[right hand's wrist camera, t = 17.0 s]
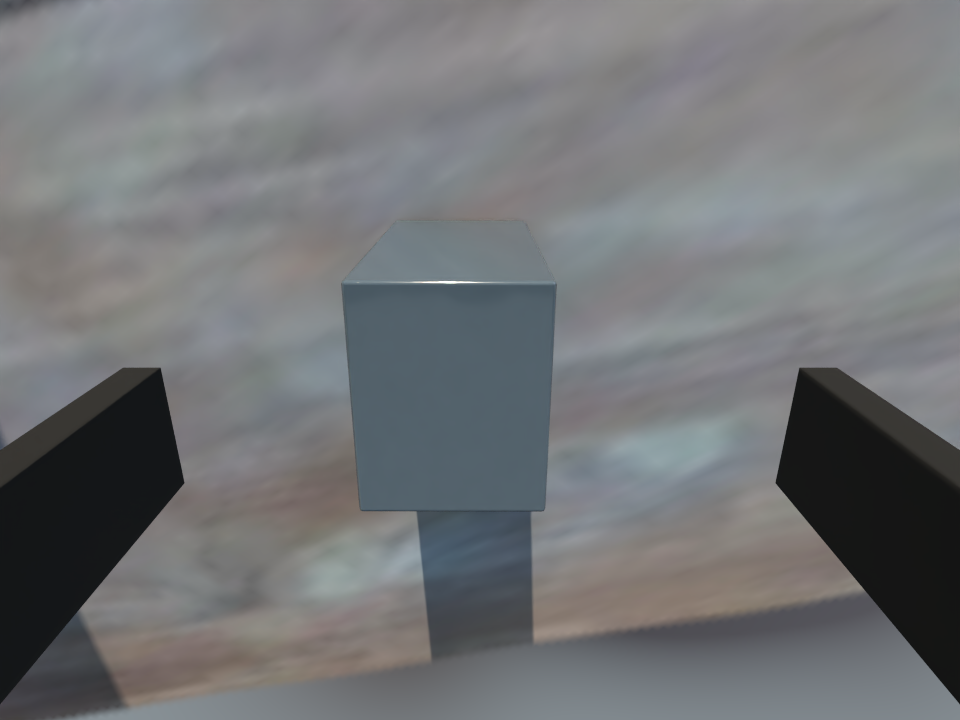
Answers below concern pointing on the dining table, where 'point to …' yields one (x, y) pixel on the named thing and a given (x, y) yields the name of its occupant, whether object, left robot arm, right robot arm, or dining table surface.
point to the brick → (451, 367)
